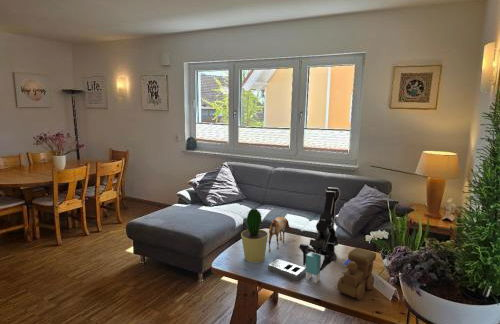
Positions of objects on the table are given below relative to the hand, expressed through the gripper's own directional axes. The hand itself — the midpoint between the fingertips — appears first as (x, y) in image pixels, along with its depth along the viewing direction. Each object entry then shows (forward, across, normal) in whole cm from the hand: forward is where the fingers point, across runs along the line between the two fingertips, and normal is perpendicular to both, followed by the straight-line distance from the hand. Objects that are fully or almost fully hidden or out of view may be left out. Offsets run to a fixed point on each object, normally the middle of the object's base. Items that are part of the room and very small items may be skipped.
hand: (312, 267), depth 156 cm
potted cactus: (+3, -38, +7) cm, 38 cm away
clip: (+4, 0, +6) cm, 7 cm away
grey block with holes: (+5, -15, +5) cm, 16 cm away
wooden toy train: (+1, +20, +9) cm, 22 cm away
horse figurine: (-14, -33, +23) cm, 43 cm away
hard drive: (-16, +10, +27) cm, 33 cm away
